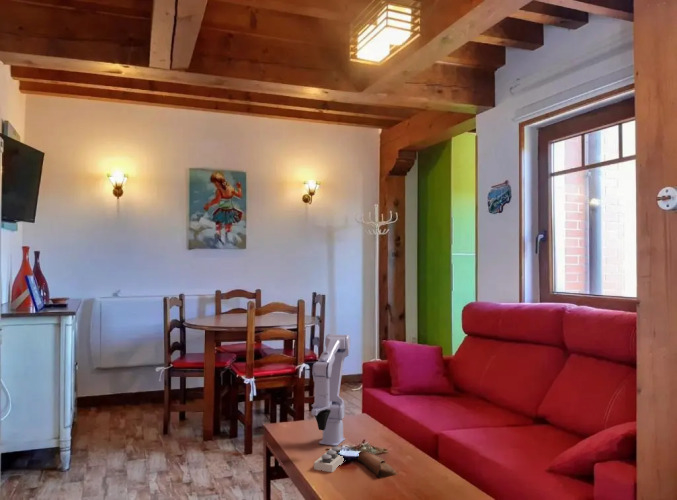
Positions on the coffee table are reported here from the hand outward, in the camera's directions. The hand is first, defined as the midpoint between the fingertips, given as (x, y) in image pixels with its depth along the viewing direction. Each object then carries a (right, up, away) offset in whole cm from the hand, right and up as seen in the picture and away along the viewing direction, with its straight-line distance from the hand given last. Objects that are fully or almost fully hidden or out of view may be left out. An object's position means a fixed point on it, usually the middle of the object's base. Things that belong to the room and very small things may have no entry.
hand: (321, 429), depth 207 cm
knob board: (+4, -9, -9) cm, 14 cm away
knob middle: (+4, -9, -9) cm, 13 cm away
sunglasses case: (+20, -10, -13) cm, 26 cm away
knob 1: (+2, -9, -13) cm, 16 cm away
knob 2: (+6, -9, -5) cm, 12 cm away
